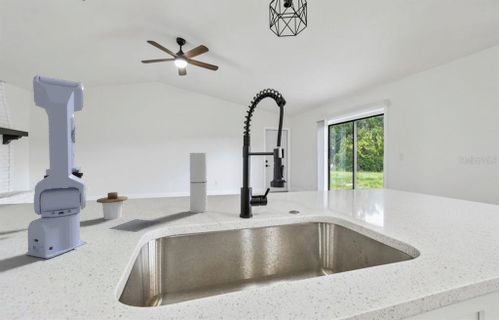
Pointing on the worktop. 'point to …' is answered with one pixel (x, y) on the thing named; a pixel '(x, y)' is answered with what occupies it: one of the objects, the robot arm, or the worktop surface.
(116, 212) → the white cup
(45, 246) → the robot arm
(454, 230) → the worktop surface
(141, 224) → the rubber mat
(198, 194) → the cylindrical container
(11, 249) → the worktop surface
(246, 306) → the worktop surface
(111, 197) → the walnut lid
